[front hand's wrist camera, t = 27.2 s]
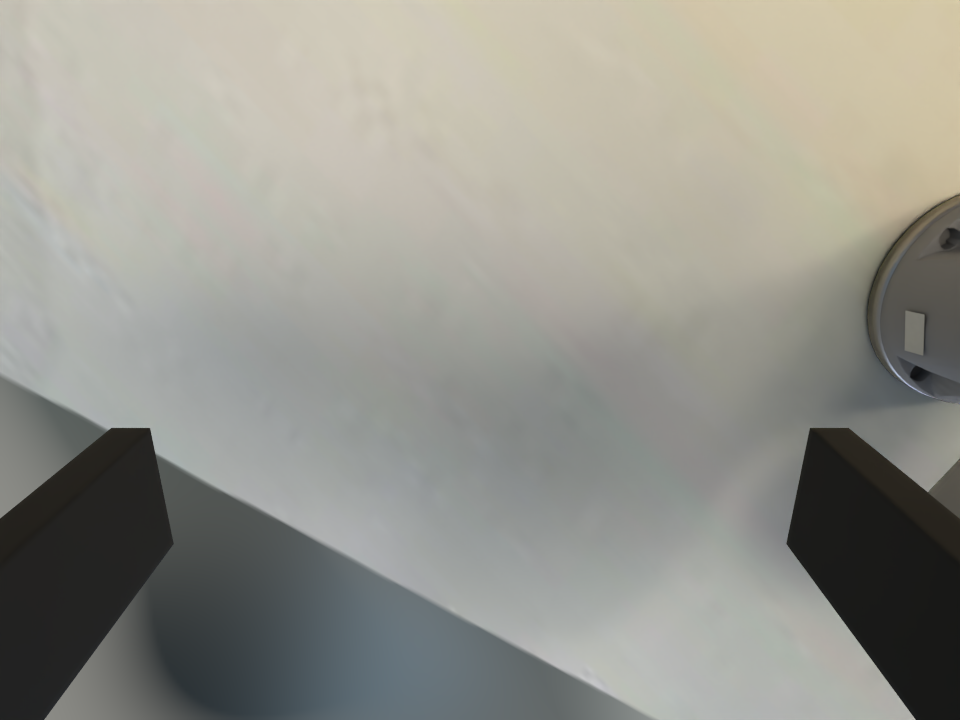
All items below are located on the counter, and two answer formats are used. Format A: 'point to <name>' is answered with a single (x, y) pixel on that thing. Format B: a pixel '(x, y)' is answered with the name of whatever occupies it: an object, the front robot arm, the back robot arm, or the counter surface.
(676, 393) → the counter surface
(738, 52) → the counter surface
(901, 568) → the front robot arm
